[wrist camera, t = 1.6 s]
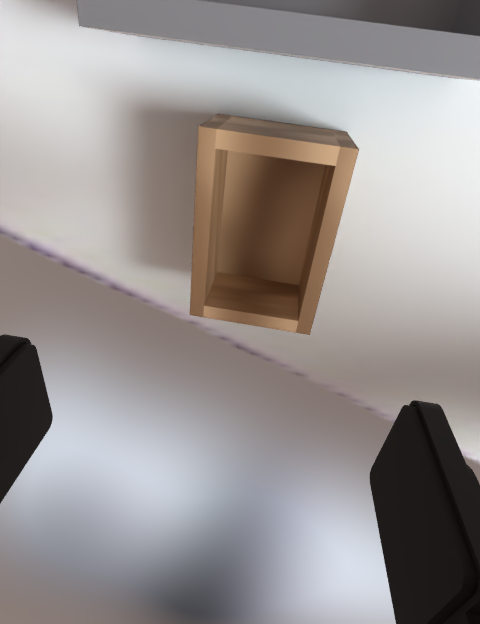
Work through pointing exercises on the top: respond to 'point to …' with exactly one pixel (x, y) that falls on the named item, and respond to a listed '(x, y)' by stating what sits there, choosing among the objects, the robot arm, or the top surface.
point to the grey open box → (312, 29)
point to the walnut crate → (266, 219)
